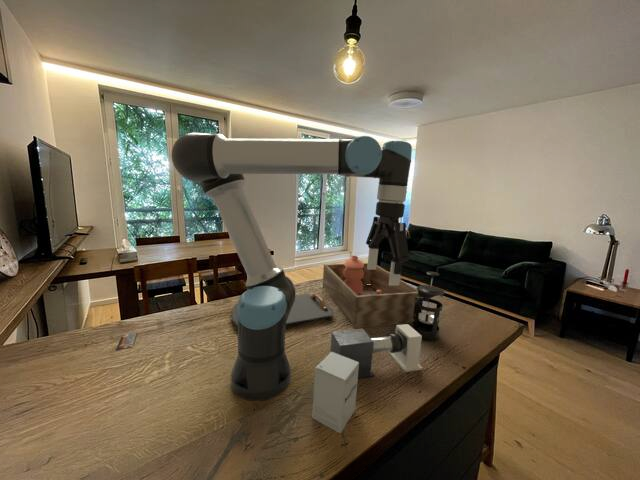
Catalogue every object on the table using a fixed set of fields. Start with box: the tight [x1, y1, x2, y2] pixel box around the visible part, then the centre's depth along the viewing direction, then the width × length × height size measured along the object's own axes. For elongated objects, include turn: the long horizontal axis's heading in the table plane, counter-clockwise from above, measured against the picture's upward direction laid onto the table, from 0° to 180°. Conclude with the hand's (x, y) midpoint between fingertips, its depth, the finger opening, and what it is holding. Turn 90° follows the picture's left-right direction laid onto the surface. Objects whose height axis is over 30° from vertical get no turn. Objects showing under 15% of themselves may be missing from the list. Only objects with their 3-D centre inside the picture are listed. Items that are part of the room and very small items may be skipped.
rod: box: [370, 333, 408, 354], centre depth 79 cm, size 16×5×5 cm, turn 105°
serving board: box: [230, 293, 334, 328], centre depth 107 cm, size 39×23×6 cm, turn 116°
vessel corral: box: [322, 262, 422, 329], centre depth 122 cm, size 27×41×12 cm, turn 15°
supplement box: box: [311, 351, 359, 434], centre depth 60 cm, size 7×7×13 cm
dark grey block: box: [330, 328, 376, 380], centre depth 76 cm, size 11×9×10 cm
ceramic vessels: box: [343, 255, 382, 296], centre depth 119 cm, size 35×21×19 cm, turn 26°
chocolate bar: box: [114, 332, 139, 352], centre depth 85 cm, size 11×5×1 cm, turn 25°
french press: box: [411, 271, 445, 342], centre depth 96 cm, size 12×9×23 cm
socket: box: [388, 323, 424, 373], centre depth 81 cm, size 6×9×10 cm, turn 16°
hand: (381, 276), depth 78 cm, fingers open, 13 cm apart
